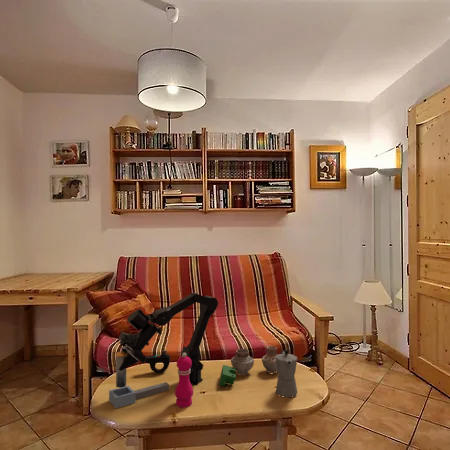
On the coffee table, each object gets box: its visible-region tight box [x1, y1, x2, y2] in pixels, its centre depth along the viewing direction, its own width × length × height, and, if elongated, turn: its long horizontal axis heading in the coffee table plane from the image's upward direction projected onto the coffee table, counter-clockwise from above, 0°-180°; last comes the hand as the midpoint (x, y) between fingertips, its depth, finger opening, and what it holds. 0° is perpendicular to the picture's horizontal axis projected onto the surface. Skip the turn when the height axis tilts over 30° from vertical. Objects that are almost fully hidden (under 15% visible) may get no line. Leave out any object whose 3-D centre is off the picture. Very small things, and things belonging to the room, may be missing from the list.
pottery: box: [230, 345, 278, 376], centre depth 171 cm, size 11×25×12 cm, turn 96°
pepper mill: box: [174, 353, 194, 408], centre depth 140 cm, size 7×7×20 cm
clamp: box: [219, 364, 237, 387], centre depth 160 cm, size 12×6×9 cm, turn 173°
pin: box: [115, 351, 127, 388], centre depth 143 cm, size 4×4×13 cm
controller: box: [144, 350, 171, 374], centre depth 171 cm, size 4×12×10 cm, turn 103°
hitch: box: [108, 381, 170, 409], centre depth 146 cm, size 24×8×4 cm, turn 126°
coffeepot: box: [275, 349, 298, 398], centre depth 150 cm, size 15×9×18 cm, turn 2°
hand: (117, 368), depth 142 cm, fingers closed on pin, 4 cm apart
